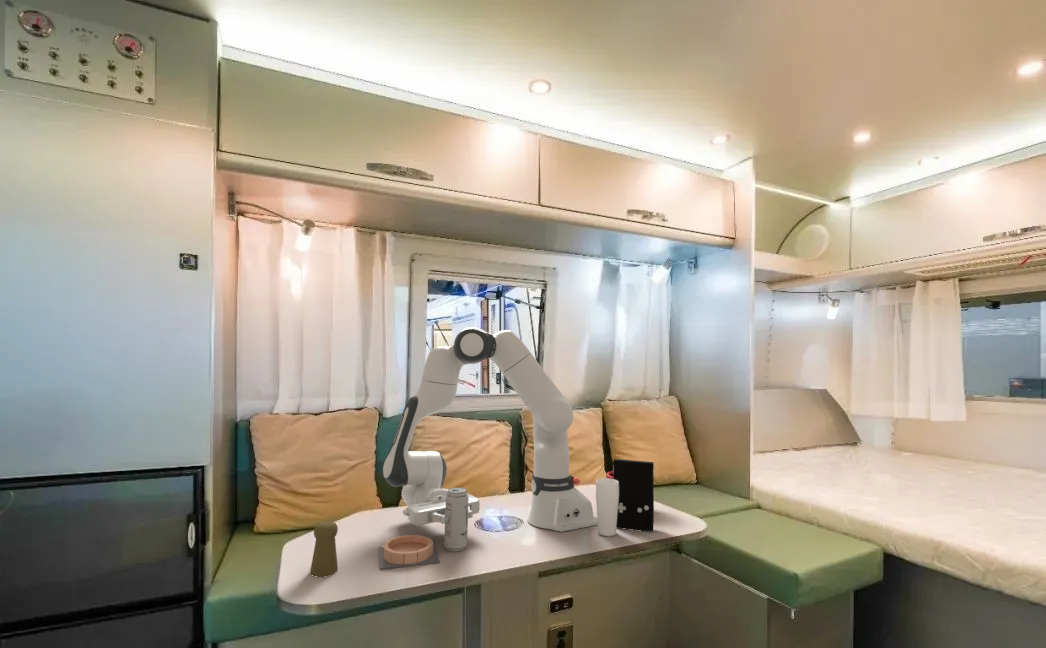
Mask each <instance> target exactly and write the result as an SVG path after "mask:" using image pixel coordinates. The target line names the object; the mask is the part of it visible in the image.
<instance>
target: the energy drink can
mask: <svg viewBox="0 0 1046 648" xmlns="http://www.w3.org/2000/svg"><path fill="white" fill-rule="evenodd" d="M448 489H449V490H448V494H447V495H446V508H445V515H446V516H448V523H445V524H444V547H445V548H446V550H447V551H449V552H461V551H464V550H465V548H466V547H467V546H468V531H469V529H468V528H469V527H468V525H469V518H468V499H469V496H468V494H469V493H468V492H467V488H463V487H451V488H448ZM467 493H468V494H467Z"/></svg>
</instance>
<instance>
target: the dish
mask: <svg viewBox="0 0 1046 648" xmlns="http://www.w3.org/2000/svg"><path fill="white" fill-rule="evenodd" d="M377 549H378V558H379V561H378V562H379V569H380V571H382V569H383V570H384V569H385V570H391V569H392V568H393V569H399V567H401V568H407V567H408V566H409V567H415V566H416V565H418V566H425V565H426V566H427V565H434V564H440V561H441V560H440V558H439V556H438V553H437V550H436V548H435V544H434V542H433V540H432V538H430V537H427V536H425V535H419V534H408V535H407V534H405V535H398V536H395V537H392V538H389V539H388V540H387V541H385V542H384V543H383V546H378V548H377ZM393 569H392V570H393Z"/></svg>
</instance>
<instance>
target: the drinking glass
mask: <svg viewBox="0 0 1046 648" xmlns="http://www.w3.org/2000/svg"><path fill="white" fill-rule="evenodd" d="M595 504H596V515H597V519H598V525H597V533H598V534H599V535H600V536H604V537H614V536H616V534H617V532H618V531H617V528H618V527H617V515H618V504H619V481H617V480H614V479H608V478H606V477H603V478H597V479H596V480H595Z"/></svg>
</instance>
